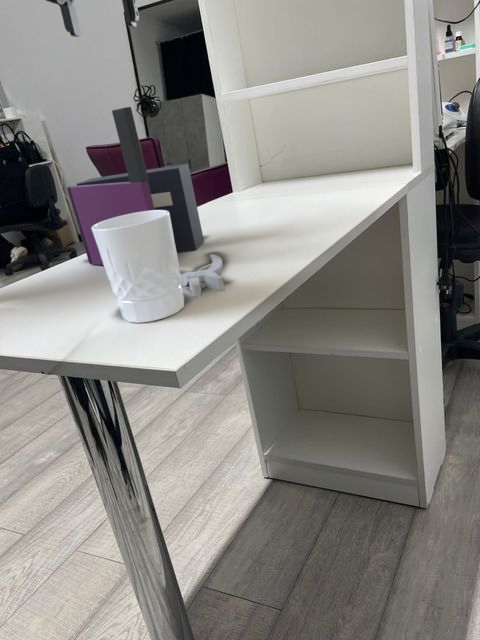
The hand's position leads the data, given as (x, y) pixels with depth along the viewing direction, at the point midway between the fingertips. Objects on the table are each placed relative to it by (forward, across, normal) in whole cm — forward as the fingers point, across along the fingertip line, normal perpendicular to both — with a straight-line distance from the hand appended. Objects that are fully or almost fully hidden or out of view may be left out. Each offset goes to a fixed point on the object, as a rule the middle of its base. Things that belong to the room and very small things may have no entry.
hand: (104, 31), depth 77 cm
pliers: (+31, +13, -22) cm, 40 cm away
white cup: (+32, +11, -32) cm, 46 cm away
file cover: (+31, 0, -12) cm, 33 cm away
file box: (+31, +2, -4) cm, 31 cm away
